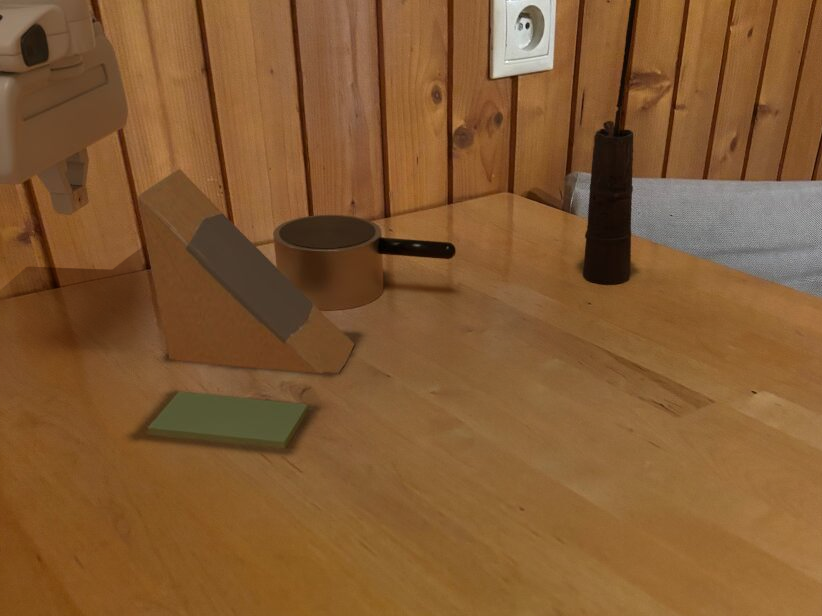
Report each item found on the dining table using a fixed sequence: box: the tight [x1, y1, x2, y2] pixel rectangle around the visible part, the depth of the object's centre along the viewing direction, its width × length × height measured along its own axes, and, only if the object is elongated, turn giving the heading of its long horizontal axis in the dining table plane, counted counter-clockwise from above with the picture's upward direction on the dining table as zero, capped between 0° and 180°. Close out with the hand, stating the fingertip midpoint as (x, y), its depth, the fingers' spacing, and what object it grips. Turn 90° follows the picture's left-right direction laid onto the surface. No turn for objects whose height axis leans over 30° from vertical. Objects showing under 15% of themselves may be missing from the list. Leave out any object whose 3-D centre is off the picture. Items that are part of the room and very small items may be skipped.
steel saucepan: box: [272, 214, 457, 311], centre depth 97 cm, size 19×11×6 cm, turn 80°
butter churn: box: [582, 0, 637, 285], centre depth 95 cm, size 9×10×28 cm
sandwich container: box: [137, 168, 355, 374], centre depth 82 cm, size 9×15×15 cm, turn 80°
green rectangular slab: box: [147, 391, 309, 449], centre depth 75 cm, size 12×7×2 cm, turn 80°
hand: (72, 209), depth 81 cm, fingers closed
